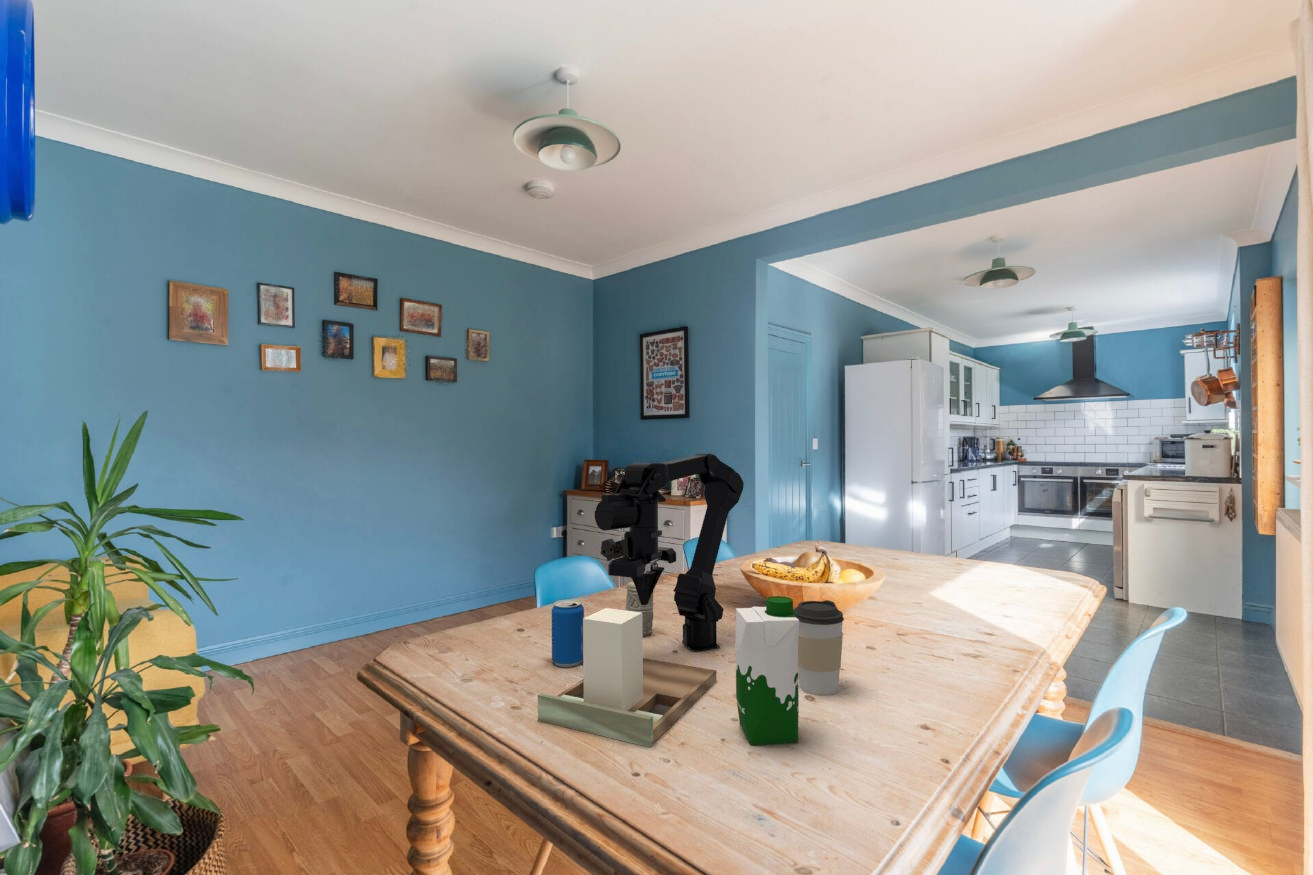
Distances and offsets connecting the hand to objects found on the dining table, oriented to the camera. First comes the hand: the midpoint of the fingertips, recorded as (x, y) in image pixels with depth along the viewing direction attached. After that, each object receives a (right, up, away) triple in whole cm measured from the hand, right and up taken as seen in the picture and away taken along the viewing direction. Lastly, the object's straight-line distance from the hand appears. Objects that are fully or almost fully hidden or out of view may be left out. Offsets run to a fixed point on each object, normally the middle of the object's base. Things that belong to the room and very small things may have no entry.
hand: (644, 604), depth 119 cm
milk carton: (+19, -12, -29) cm, 36 cm away
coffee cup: (+31, -12, -12) cm, 36 cm away
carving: (-2, -13, +20) cm, 24 cm away
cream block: (-5, -10, -22) cm, 24 cm away
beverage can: (-15, -13, +2) cm, 20 cm away
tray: (-1, -12, -16) cm, 20 cm away
